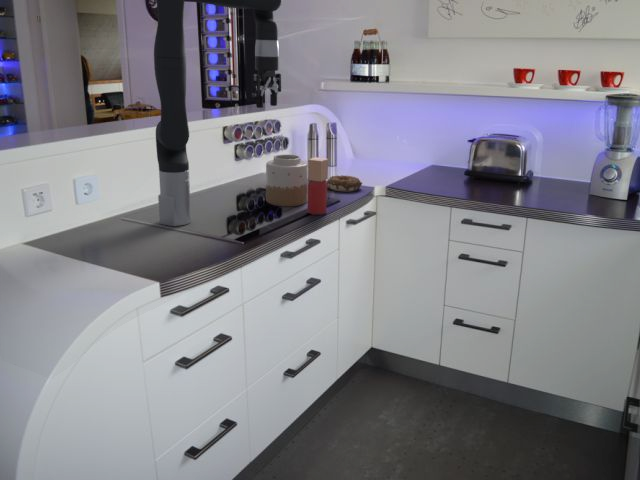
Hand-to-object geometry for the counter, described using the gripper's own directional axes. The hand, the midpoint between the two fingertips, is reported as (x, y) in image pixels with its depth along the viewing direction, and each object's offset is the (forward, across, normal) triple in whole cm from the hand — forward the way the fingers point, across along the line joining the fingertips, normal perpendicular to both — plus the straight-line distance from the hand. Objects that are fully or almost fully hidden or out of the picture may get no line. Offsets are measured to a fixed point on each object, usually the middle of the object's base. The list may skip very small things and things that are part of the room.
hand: (266, 106), depth 198 cm
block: (+24, +9, -15) cm, 30 cm away
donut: (+36, +47, -8) cm, 60 cm away
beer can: (+36, +9, -15) cm, 40 cm away
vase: (+36, +17, +2) cm, 40 cm away
